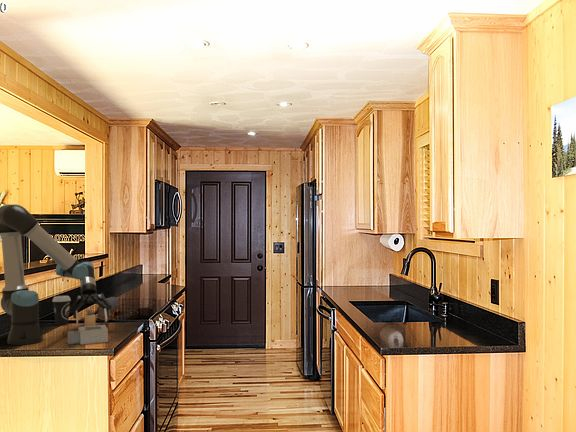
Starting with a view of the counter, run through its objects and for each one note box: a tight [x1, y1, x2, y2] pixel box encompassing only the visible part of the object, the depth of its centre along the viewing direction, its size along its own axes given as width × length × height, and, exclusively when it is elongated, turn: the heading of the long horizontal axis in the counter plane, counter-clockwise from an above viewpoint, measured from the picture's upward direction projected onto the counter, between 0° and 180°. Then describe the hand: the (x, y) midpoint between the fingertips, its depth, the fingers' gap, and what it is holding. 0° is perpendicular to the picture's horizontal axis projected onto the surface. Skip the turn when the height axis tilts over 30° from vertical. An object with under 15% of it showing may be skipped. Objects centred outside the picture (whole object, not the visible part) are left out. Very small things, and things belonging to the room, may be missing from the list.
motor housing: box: [67, 324, 109, 346], centre depth 261 cm, size 12×17×6 cm
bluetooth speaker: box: [102, 296, 121, 313], centre depth 331 cm, size 23×9×10 cm, turn 6°
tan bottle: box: [84, 309, 96, 327], centre depth 274 cm, size 5×5×12 cm
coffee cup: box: [51, 295, 72, 326], centre depth 305 cm, size 10×10×15 cm
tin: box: [96, 305, 115, 322], centre depth 316 cm, size 15×3×8 cm, turn 49°
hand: (92, 321), depth 275 cm, fingers open, 13 cm apart
